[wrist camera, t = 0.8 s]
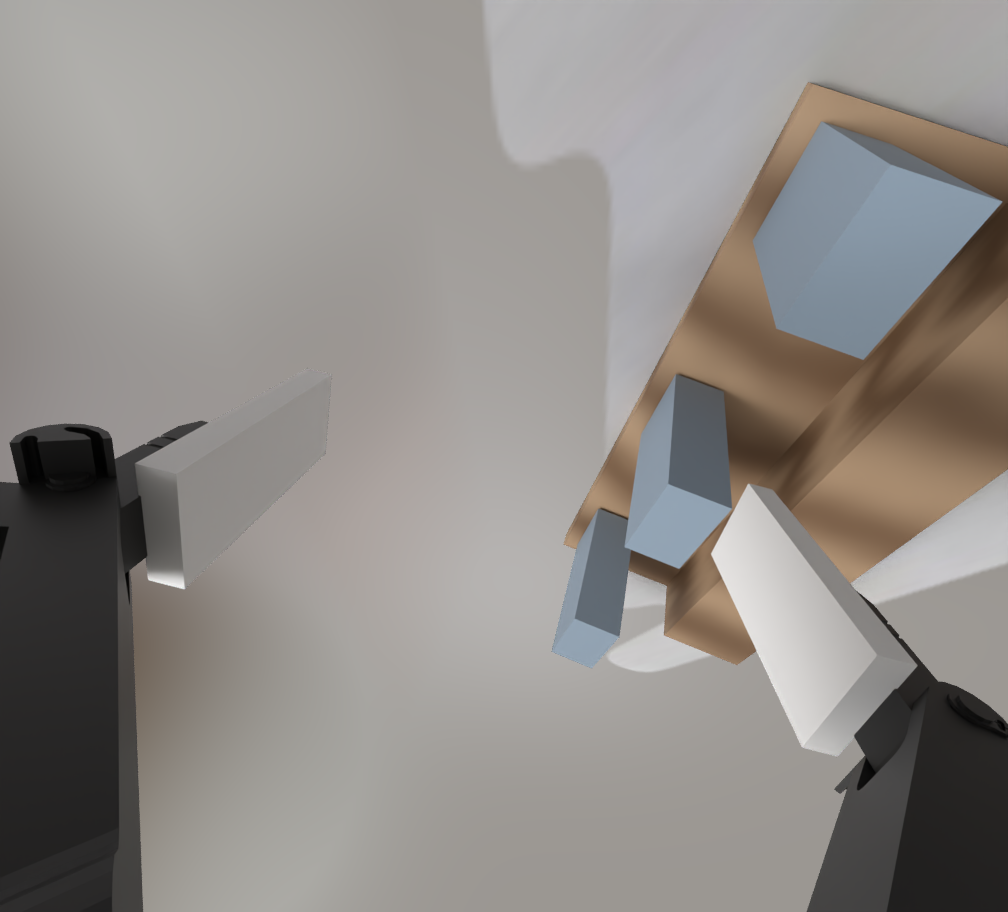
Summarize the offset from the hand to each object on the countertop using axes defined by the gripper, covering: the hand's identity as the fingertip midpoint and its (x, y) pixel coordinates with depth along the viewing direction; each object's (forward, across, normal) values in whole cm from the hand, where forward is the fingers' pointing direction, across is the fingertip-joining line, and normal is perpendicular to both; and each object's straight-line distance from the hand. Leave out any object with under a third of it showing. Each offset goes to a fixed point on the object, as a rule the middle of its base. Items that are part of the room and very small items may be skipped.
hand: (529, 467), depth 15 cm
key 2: (+13, +10, +11) cm, 19 cm away
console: (+17, +15, -2) cm, 23 cm away
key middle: (+16, +9, -2) cm, 19 cm away
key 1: (+20, +9, -14) cm, 26 cm away
